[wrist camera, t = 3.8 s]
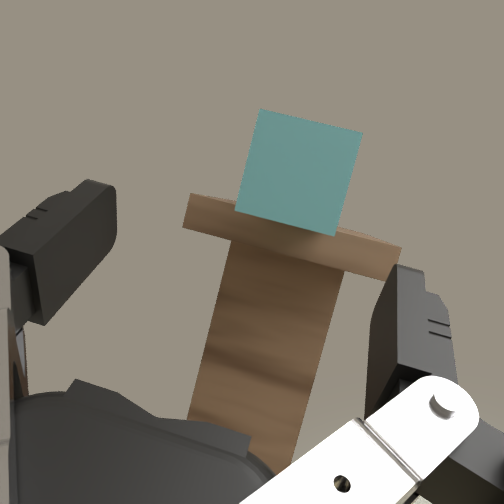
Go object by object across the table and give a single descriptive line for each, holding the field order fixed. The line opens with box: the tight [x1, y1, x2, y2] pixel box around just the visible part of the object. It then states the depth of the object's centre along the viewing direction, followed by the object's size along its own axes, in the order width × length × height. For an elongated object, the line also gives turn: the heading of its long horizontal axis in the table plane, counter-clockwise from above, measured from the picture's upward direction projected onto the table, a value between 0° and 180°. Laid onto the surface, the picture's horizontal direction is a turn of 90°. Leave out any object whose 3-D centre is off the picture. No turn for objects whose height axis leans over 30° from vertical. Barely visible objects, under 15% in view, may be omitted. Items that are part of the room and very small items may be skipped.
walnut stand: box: [183, 193, 402, 475], centre depth 37 cm, size 20×16×32 cm
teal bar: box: [234, 109, 363, 236], centre depth 28 cm, size 26×4×4 cm, turn 172°
